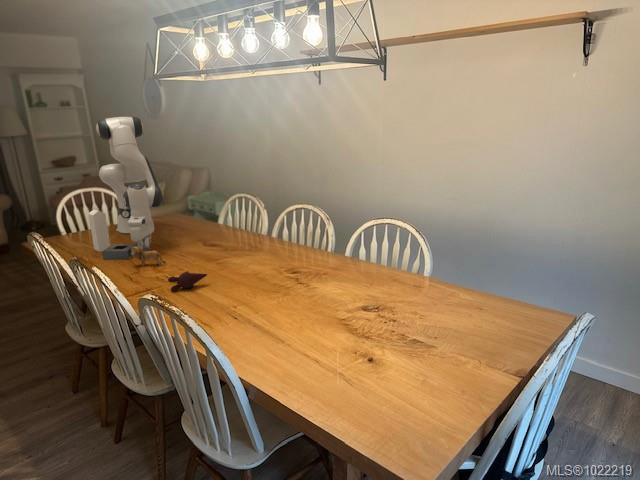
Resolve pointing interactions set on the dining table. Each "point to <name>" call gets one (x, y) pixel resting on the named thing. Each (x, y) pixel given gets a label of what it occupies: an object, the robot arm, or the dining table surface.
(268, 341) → the dining table surface
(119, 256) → the jig
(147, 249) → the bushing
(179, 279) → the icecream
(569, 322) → the dining table surface
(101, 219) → the milk
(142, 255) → the lion figurine
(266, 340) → the dining table surface
